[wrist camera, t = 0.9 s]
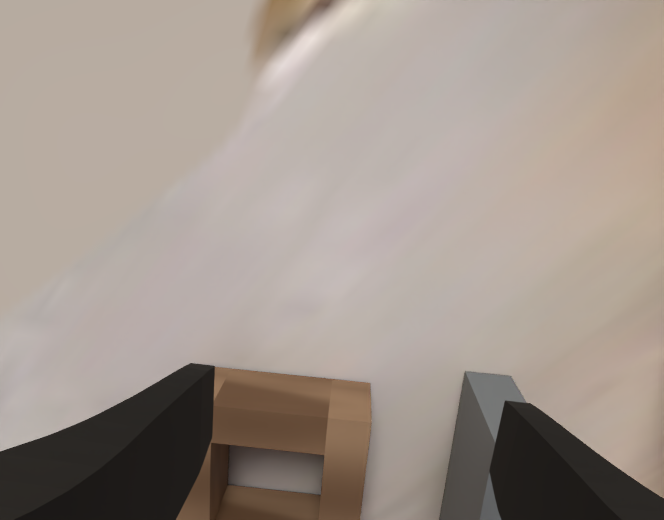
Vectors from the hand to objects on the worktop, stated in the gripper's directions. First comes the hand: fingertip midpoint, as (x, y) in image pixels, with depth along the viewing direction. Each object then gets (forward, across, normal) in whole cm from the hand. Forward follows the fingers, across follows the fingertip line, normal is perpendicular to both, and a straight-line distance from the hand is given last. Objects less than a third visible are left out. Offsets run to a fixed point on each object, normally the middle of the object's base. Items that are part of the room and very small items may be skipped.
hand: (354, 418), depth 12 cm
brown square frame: (+9, +3, +8) cm, 13 cm away
